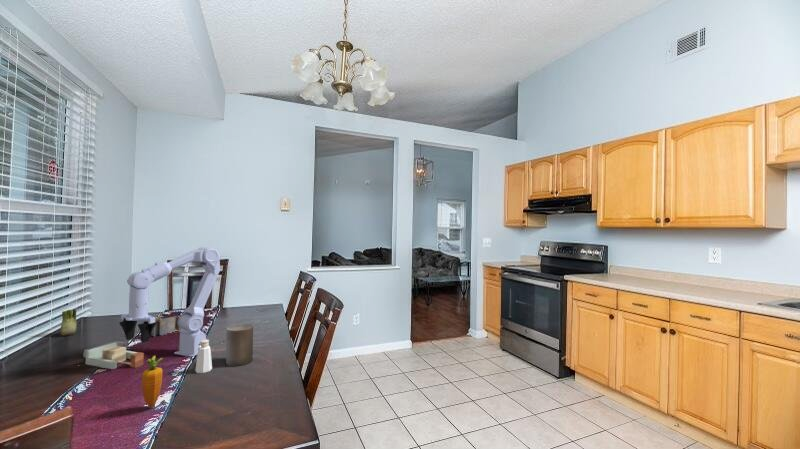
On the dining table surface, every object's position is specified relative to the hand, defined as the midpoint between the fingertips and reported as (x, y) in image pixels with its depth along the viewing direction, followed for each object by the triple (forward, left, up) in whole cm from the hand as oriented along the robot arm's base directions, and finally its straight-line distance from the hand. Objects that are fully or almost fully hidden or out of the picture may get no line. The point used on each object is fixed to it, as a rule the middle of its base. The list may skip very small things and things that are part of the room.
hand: (137, 340), depth 126 cm
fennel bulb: (+64, -15, -10) cm, 66 cm away
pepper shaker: (-26, -5, -10) cm, 28 cm away
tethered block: (+6, 0, -9) cm, 11 cm away
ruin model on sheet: (+25, -32, -10) cm, 42 cm away
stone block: (+25, -5, -10) cm, 27 cm away
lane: (+11, 0, -10) cm, 15 cm away
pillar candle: (-32, -16, -10) cm, 37 cm away
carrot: (-33, +20, -10) cm, 40 cm away
